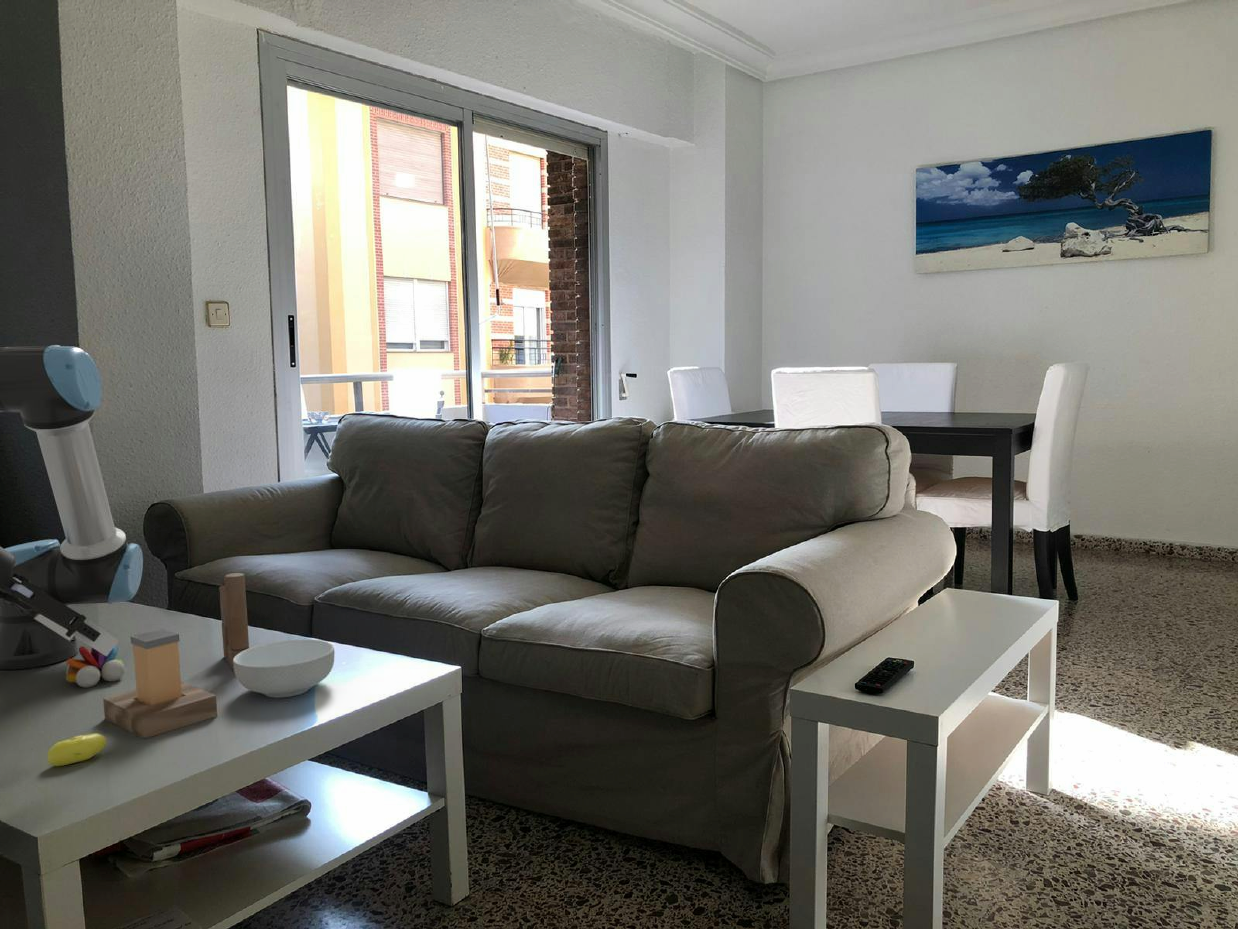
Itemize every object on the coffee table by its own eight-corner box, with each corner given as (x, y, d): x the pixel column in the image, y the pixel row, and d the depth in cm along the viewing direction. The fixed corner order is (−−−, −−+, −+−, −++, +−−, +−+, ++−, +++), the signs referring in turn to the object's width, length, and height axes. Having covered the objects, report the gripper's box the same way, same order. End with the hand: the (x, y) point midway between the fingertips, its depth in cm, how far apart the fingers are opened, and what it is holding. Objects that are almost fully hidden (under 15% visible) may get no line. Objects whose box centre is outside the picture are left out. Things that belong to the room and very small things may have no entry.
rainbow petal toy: (59, 683, 178) (56, 644, 177) (115, 669, 185) (112, 633, 184) (75, 693, 172) (72, 653, 171) (132, 679, 179) (129, 641, 178)
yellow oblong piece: (44, 765, 141) (41, 739, 141) (103, 749, 147) (101, 724, 146) (52, 773, 138) (50, 747, 138) (112, 756, 144) (110, 731, 143)
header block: (104, 719, 159) (103, 698, 158) (176, 698, 168) (175, 678, 168) (143, 739, 150) (142, 717, 149) (217, 715, 159) (215, 695, 159)
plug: (137, 719, 159) (130, 636, 157) (169, 709, 163) (163, 628, 161) (152, 726, 155) (145, 641, 154) (185, 716, 159) (178, 634, 158)
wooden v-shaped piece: (242, 653, 193) (236, 565, 191) (252, 667, 184) (246, 575, 182) (223, 656, 192) (217, 567, 189) (232, 671, 182) (225, 578, 180)
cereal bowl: (341, 671, 181) (339, 635, 180) (330, 702, 164) (328, 662, 164) (246, 678, 178) (243, 641, 177) (225, 711, 161) (222, 670, 161)
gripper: (-76, 573, 143) (44, 647, 156) (-17, 597, 127) (110, 677, 140) (-37, 532, 146) (76, 608, 159) (24, 550, 130) (145, 633, 143)
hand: (93, 640), depth 150 cm, fingers open, 13 cm apart
